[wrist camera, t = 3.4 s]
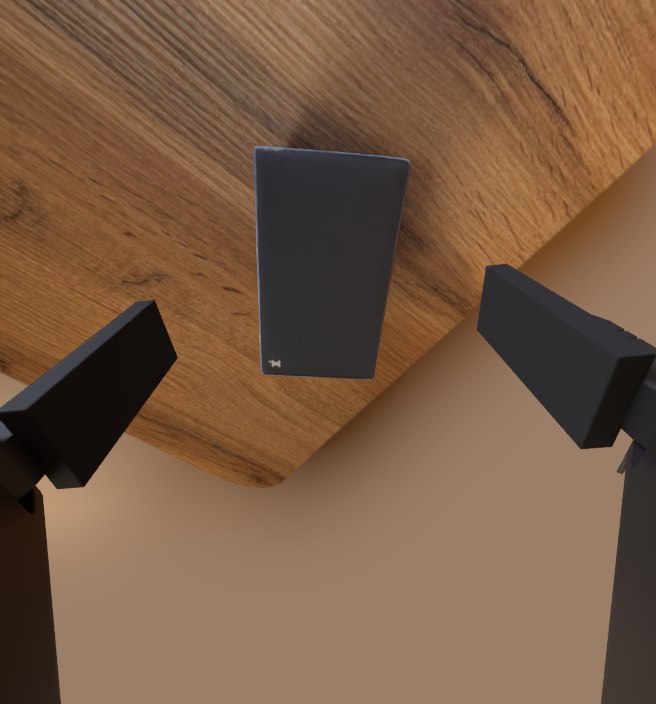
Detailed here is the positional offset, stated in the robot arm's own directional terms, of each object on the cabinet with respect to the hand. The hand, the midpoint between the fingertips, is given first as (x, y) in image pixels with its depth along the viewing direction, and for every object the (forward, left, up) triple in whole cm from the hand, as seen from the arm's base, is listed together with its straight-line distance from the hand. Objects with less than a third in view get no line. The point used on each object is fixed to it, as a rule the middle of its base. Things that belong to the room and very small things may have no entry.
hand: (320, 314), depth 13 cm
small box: (0, 0, -13) cm, 13 cm away
